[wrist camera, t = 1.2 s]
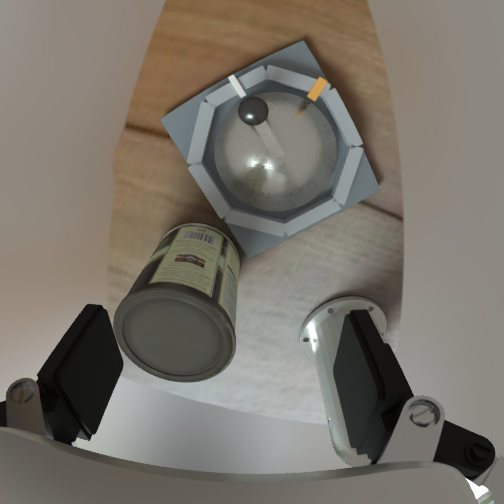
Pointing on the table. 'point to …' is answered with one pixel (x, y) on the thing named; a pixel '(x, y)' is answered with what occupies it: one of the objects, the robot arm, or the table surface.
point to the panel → (234, 92)
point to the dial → (275, 151)
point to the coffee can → (183, 306)
